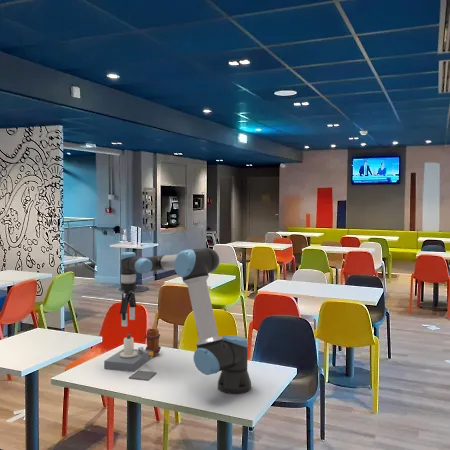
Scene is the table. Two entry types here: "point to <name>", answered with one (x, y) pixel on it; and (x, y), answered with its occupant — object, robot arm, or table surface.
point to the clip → (146, 352)
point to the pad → (142, 375)
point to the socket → (126, 361)
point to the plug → (128, 348)
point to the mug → (153, 340)
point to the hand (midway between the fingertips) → (128, 322)
